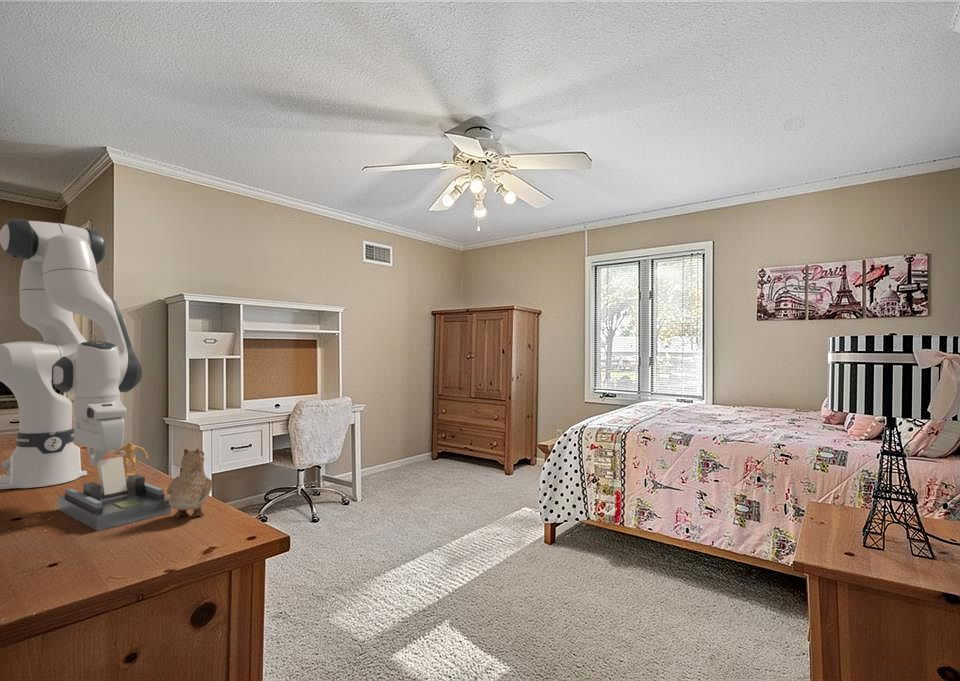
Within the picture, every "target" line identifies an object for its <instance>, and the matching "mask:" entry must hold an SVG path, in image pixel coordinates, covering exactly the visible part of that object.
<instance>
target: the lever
mask: <svg viewBox="0 0 960 681" xmlns="http://www.w3.org/2000/svg"><path fill="white" fill-rule="evenodd" d="M97 465H98V467H97V471H98V479H99V485H101V499H106V498H111V497H116V496H120V495H125V494H128V489H127V485H126V478H125V468H124V466H125V465H124V459H123V456H118V457H114V458H112V457H110V458H107V459H105V458H104V460H100V461H98V462H97Z"/></svg>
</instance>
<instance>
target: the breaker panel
mask: <svg viewBox="0 0 960 681" xmlns="http://www.w3.org/2000/svg"><path fill="white" fill-rule="evenodd" d="M145 483H146V482H145V476H143V475H140V474H136V473H135V475H130V476H128V487H127V489H128V494H125V495H120V496H116V497H111V498H106V499H101V485H100V483H99V484H98V483H96V482H87V483H83V488H82V489H83V490H82V491H80V492H81V493H83V494H85V495H87V496H90V497H92V498H94V499H96V500H98V501H100V502H102V507H103V512H102V513H95V512H93V511H91V510H89V509H87V508H85V507H83V506H81V505H79V504H77V503H75V502H73V501H71V500H69V499H67V498H65V494H64V495H61V496H58V499H57V500H58V502H57V503H58V504H57V510H58V511H60V512H62V513H63V514H65V515H66V516H69V517H71V518H72V519H74V520H76V521H78V522H79V523H82V524H83V525H85V526H86V527H89V528H90V529H92V530H94V531H97V532H98V531H103V530H107V529H111V528H114V527H115V528H116V527H120V526H123V525H127V524H131V523H134V522H135V523H136V522H138V521H143V520H147V519H150V518H155V517H158V516H162V515H163V516H164V515H166V514H171V513H172V507H171V506H170V505H169V500H170V497H169V498H168V497H167V496H164V499H157V498H155V497H152V496H149V495H147V494H144V488H145Z"/></svg>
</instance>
